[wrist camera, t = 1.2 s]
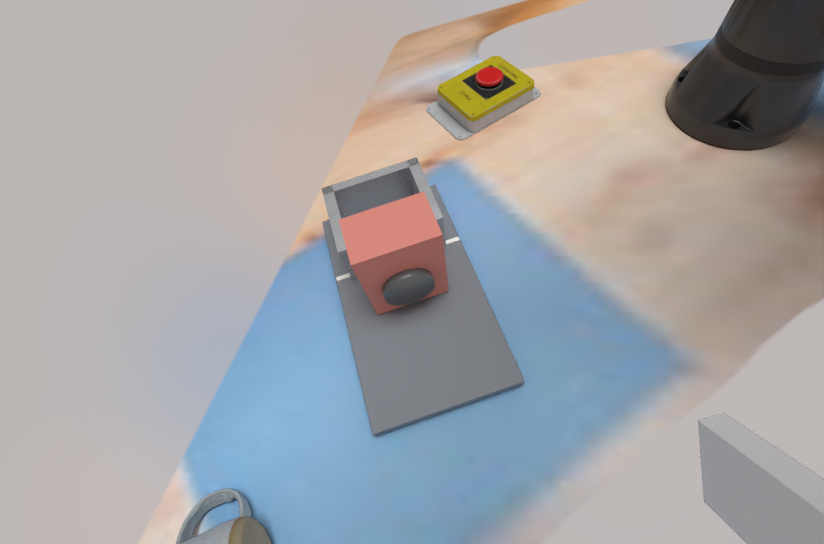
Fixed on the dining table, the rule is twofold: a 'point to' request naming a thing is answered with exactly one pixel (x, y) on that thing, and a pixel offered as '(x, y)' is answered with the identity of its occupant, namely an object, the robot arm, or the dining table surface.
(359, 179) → the grey box holder bracket
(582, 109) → the dining table surface
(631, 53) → the dining table surface
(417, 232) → the pink box with dome
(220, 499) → the ceramic mug
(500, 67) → the emergency button
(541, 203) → the dining table surface
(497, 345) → the stand board
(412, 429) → the dining table surface
